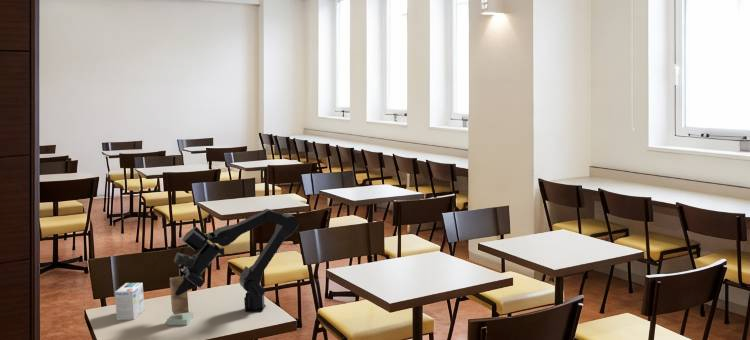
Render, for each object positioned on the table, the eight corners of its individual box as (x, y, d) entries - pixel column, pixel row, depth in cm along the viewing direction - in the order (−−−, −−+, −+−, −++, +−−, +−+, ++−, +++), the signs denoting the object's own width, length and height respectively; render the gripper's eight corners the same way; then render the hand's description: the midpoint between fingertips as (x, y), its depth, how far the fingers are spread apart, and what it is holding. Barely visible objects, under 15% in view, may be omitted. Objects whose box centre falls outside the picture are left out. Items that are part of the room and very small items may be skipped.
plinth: (193, 318, 249) (193, 312, 248) (186, 325, 242) (186, 319, 241) (174, 318, 249) (173, 312, 249) (167, 325, 242) (167, 319, 242)
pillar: (186, 308, 248) (183, 275, 246) (188, 312, 244) (186, 279, 242) (172, 310, 246) (169, 278, 244) (174, 314, 242) (171, 281, 240)
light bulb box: (127, 310, 259) (125, 282, 258) (145, 309, 259) (143, 282, 257) (116, 320, 248) (113, 291, 247) (134, 320, 248) (132, 291, 247)
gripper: (182, 239, 252) (153, 272, 249) (191, 250, 235) (160, 286, 232) (205, 257, 256) (177, 290, 253) (216, 269, 239) (186, 305, 236)
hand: (174, 292), depth 243 cm, fingers closed on pillar, 5 cm apart
